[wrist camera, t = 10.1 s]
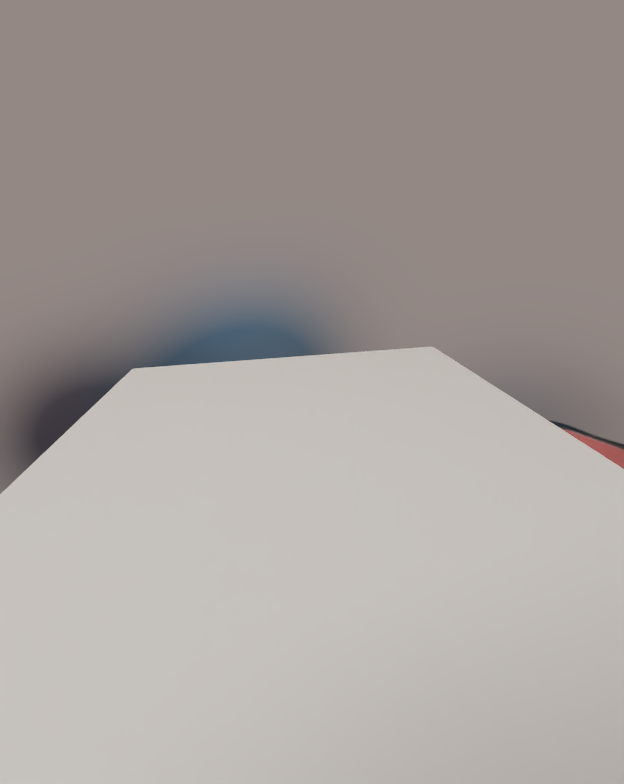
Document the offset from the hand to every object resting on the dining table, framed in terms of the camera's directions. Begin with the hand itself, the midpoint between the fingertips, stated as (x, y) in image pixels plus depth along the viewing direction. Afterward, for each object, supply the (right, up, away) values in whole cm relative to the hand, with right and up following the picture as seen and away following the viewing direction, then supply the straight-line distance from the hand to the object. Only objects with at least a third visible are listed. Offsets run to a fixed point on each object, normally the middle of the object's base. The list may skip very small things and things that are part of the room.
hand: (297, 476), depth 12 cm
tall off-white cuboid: (+1, -8, -1) cm, 8 cm away
